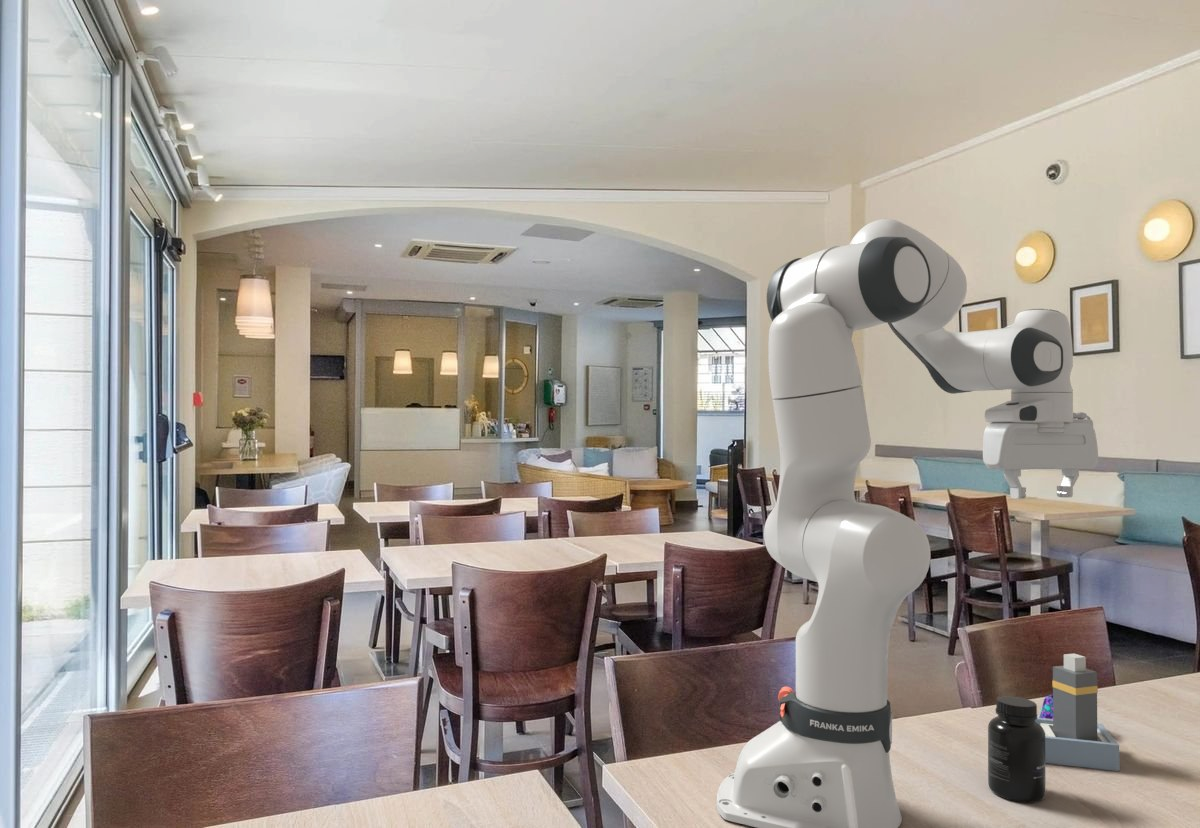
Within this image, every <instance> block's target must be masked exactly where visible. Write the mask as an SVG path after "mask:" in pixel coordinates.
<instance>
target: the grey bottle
mask: <svg viewBox="0 0 1200 828" xmlns="http://www.w3.org/2000/svg"><path fill="white" fill-rule="evenodd" d="M1086 660H1087V657H1086V656H1084V655H1080V654H1077V653H1075V652H1074V653H1067V654H1066V653H1065V654H1063V665H1059V666H1058V665H1056V666H1052V682H1051V683H1052V684H1051V685H1052V694H1053V733H1054V735H1055V736H1056V737H1060V738H1070V739H1080V740H1090V741H1097V723H1098V690H1099V689H1098V688H1099V687H1098V671H1096V670H1091V669H1089V668H1087V664H1086Z"/></svg>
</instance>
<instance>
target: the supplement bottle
mask: <svg viewBox="0 0 1200 828" xmlns="http://www.w3.org/2000/svg"><path fill="white" fill-rule="evenodd" d="M995 704H996V705H995V706H996V708H995V714H996V715H997V716H996V717H993V718H992V719H991V720H990V721H989V723H988V726H987V760H988V761H987V783H988V784H987V785H988V787H989V790H991V792H992V793H994V794H995V795H997V796H999V797H1001V798H1003V799H1006V800H1010V801H1013V802H1019V803H1037V802H1040V801H1042V800H1043V799H1044V798H1045V797H1046V763H1045V732H1044V730H1043V728H1042V727H1041V726H1040V725H1039V724H1038V723H1037V722H1035V720H1036V719H1037V715H1038V712H1037V711H1038V709H1037V708H1038V707H1037V703H1036V702H1035V701H1033V700H1031V699H1029V698H1025V697H1024V698H1023V697H1018V696H1010V695H1009V696H1008V695H1006V696H1005V695H1004V696H999V697H997V698H996V702H995Z"/></svg>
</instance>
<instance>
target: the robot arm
mask: <svg viewBox="0 0 1200 828" xmlns="http://www.w3.org/2000/svg"><path fill="white" fill-rule="evenodd" d="M967 288H968V283H967V277H966V274H965V272H964V270H963V268H962V267H961V265H960V264H959V262H958V261H957V260H956V259H955V258H954V257H953V256H952V255H950V254H949V253H948V252H947V251H946V250H944V249H943V248H942V247H941V246H940V245H938V243H936V242H935V241H933V240H932V239H931V238H929V237H927V236H926V235H925V234H924V233H922V232H920V231H919V230H917V229H916V228H913V227H912V226H909V225H907V224H906V223H903V222H900V221H899V220H896V219H892V218H882V219H881V218H880V219H877V220H873V221H871V222H869V223H868V224H865V225H864V226H863V227H861V228H860V229H859V230H858V231H857V232H856V234H854V236H853V238H852V239H851V241H850V242H849V244H846V245H838V246H837V245H836V246H835V245H834V246H832V247H828V248H825V249H821V250H819V251H816V252H814V253H812V254H809V255H807V256H804V257H797V258H794V259H792V260H790V261H788V262H786V263H785V264H783V265H782V266H780V267H778V268H777V269H776V270H775V271H774V272H773V274H772V275H771V277H770V279H769V282H768V286H767V290H766V306H767V310H768V314H769V317H770V319H771V321H772V322H771V324H770V326H769V331H768V343H767V344H768V345H767V348H768V349H767V350H768V351H767V352H768V353H767V354H768V356H767V357H768V358H767V359H768V362H767V363H768V377H769V378H768V379H769V385H770V393H771V399H772V400H771V401H772V407H773V413H774V414H773V415H774V421H775V428H776V435H777V440H778V447H779V463H780V464H779V465H780V466H779V483H778V489H777V490H778V491H777V497H776V502H775V506H774V507H773V509H772V510H771V512H770V513H769V514H768V516H767V518H766V521H765V524H764V529H763V539H764V544H765V547H766V548H765V549H766V550H767V552H768V554H769V555H770V557H771V558H772V559H773V560H774V561H775V562H776V563H778V564H779V565H780V566H782V567H783V568H784V569H786V570H787V571H788V572H789V573H791V574H793V575H794V576H797V577H799V578H802V579H806V580H808V581H809V580H810V581H812V582H815V583H817V585H818V591H817V597H816V603H815V606H814V609H813V612H812V615H811V617H810V619H809V620H807V621H806V622H804V623H803V624H802V625H801V626H800V628H798V629H797V633H796V636H795V690H793V688H791V687H790V686H783V687H781V689H779V692H778V697H777V699H778V701H779V705H778V717H779V718H778V719H779V721H777V722H776V723H774V724H773V725H770V727H768V728H766V729H765V730H763V731H762V732H761V733H759V734H757V735H756V736H754V737H752V738H751V739H750V740H748V742H747V743H746V744H745V745H744V746H743V747H742V748H741V749H742V750H741V751H740V753H739V755H738V758H737V762H736V766H735V770H734V772H732V773H730V774H728V775H727V776H726V777H725V778H724V779H723V780H722V782H721V783H720V785H719V788H718V789H717V794H716V802H715V804H716V809H717V813H718V814H719V815H720V816H721V818H723V820H726V821H729V822H732V823H736V824H742V825H745V826H749V827H754V828H899V827H900V825H901V824H902V820H903V819H902V813H901V810H900V807H899V804H898V801H897V796H896V792H895V788H894V781H893V774H892V768H891V759H890V757H891V756H890V750H891V747H892V743H893V712H892V707H891V702H890V701H889V700H888V664H889V663H888V661H889V660H888V659H889V658H888V657H889V642H890V636H891V632H892V628H893V624H894V621H895V618H896V616H897V613H898V610H899V609H900V607H901V604H902V603H903V602H904V600H905V599H906V598H907V597H908V596H909V595H910V594H911V593H913V592H914V591H915V590H917V589H918V588H919V587H920V586H921V584H922V583H923V581H924V580H925V578H926V577H927V573H928V571H929V568H930V564H931V547H930V541H929V539H928V536H927V534H926V532H925V530H924V529H923V528H922V526H921V525H920V524H919V523H918V522H916V520H914V519H912V518H911V517H909V516H907V515H905V514H903V513H901V512H899V511H896V510H894V509H892V508H890V507H887V506H884V505H880V504H876V503H875V504H873V503H867V502H859V501H856V498H855V483H856V481H855V480H856V475H857V470H858V467H859V465H860V463H861V462H862V461H863V460H865V458H866V457H867V456H868V453H869V452H870V449H871V446H872V445H871V444H872V443H871V442H872V441H871V440H872V439H871V433H870V426H869V419H868V415H867V407H866V402H865V396H864V389H863V388H864V387H863V382H862V377H861V371H860V367H859V362H858V357H857V353H856V350H855V347H854V343H853V340H852V339H853V334H854V332H855V331H861V330H864V329H869V328H872V327H876V326H879V325H882V324H885V323H886V324H888V326H889V328H890V329H891V331H892V332H893V333H894V335H895V336H896V337H897V338H898V339H899V340H900V341H901V343H903V344H904V345H905V346H906V347H907V349H908V350H909V351H910V352H912V354H913V355H914V356H916V358H917V359H918V360H919V361H920V362H921V363H922V364H923V365H924V367H926V369H927V371H928V373H929V374H930V377H931V379H932V380H933V382H934V383H935V384H936V385H937V386H938V387H939V388H940V389H941V390H943V392H946V393H947V394H951V395H952V394H955V395H956V394H962V393H970V392H982V391H983V392H984V391H1005V390H1011V391H1010V400H1008V401H1005V402H1003V403H1000V404H998V405H995V406H992V407H989V408H987V409H986V410H985V411H984V420H985V422H987V423H988V424H987V425H986V426H985V428H984V431H983V439H982V461H983V464H984V465H985V467H986V468H987V469H988V470H989V469H990V470H1001V471H1002V470H1003V477H1004V480H1005V481H1006V483H1007V485H1008V487H1009V493H1010V494H1009V496H1010V498H1011V499H1019V500H1021V499H1026V497H1027V494H1026V492H1027V488H1026V487H1025V486H1024V487H1023V486H1022V484H1021V480H1020V479H1019V477H1021V476H1022V470H1061V476H1063V479H1062V481H1061V483H1060V485H1056V491H1057V492H1056V496H1057V497H1058V498H1072V497H1073V495H1074V493H1073V492H1074V491H1073V490H1074V486H1075V484H1076V483H1077V480H1078V478H1079V476H1080V469H1081V470H1086V469H1087V470H1088V469H1089V470H1091V469H1092V470H1094V469H1095V468H1096V466H1097V465H1098V463H1099V447H1098V441H1097V435H1096V431H1095V429H1094V421H1093V419H1092V418H1091V417H1090V416H1089V415H1087V413H1085V412H1083V411H1082V412H1081V411H1080V412H1079V411H1078V412H1074V390H1073V386H1072V383H1071V372H1072V370H1073V366H1074V354H1073V352H1074V349H1073V338H1072V330H1071V326H1070V323H1069V322H1070V321H1069V318H1068V316H1067V315H1066V314H1065V313H1064V312H1063V313H1062V312H1060V311H1059V310H1054V309H1048V308H1047V309H1045V308H1031V309H1026V310H1023V311H1020V312H1018V313H1017V314H1016V316H1015V318H1014V322H1013V323H1011V324H1010V325H1007V326H1005V327H1003V328H996V329H985V330H984V329H983V330H976V331H975V330H973V331H959V332H957V331H955V332H954V331H949V330H946V329H945V326H946V325H948V324H949V323H950V322H952V320H953V319H954V318H955V317H956V315H957V314H958V313H959V312H960V310H961V308H962V307H963V304H964V302H965V299H966V296H967V290H968V289H967Z"/></svg>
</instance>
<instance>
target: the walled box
mask: <svg viewBox="0 0 1200 828" xmlns="http://www.w3.org/2000/svg"><path fill="white" fill-rule="evenodd" d="M1035 722H1037V723H1038V724H1039V725H1040V726H1041V727H1042V728H1043V730H1044V732H1045V764H1050V765H1060V766H1068V767H1077V768H1087V769H1097V770H1106V771H1116V772H1120V744H1119V743H1118V742H1117V741H1116V739H1115V738H1114V737H1113V736H1112V735H1111V733H1110V731H1109V730H1108V729H1107V728H1106V727H1105V726H1104V725H1103V723H1100V722H1099V723H1098V722H1097V741H1090V740H1080V739H1070V738H1060V737H1056V736H1055V735H1054V733H1053V719H1047V718H1037V719H1036V720H1035ZM1106 729H1107V730H1108V731H1109V732H1108V731H1107V730H1106Z"/></svg>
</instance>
